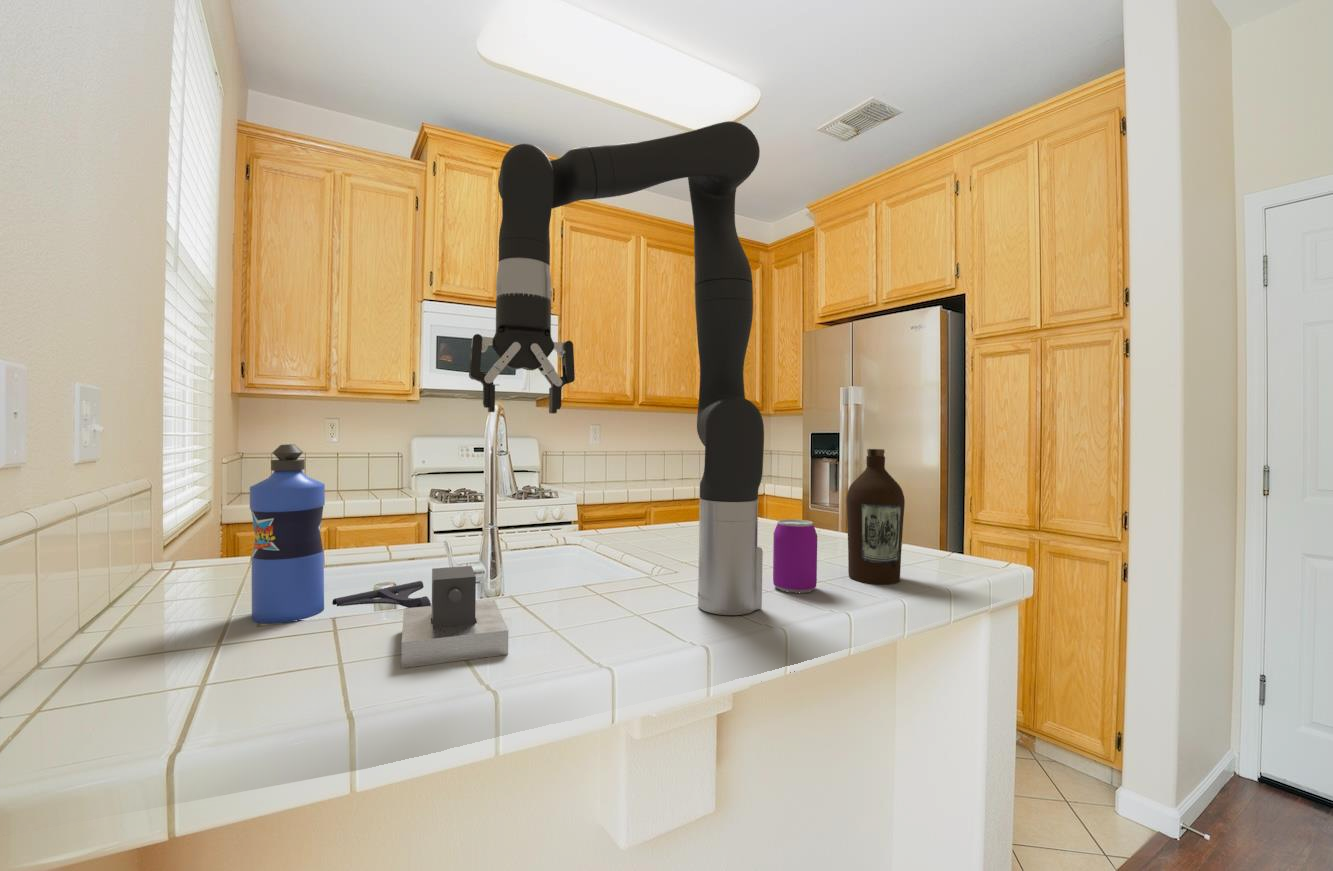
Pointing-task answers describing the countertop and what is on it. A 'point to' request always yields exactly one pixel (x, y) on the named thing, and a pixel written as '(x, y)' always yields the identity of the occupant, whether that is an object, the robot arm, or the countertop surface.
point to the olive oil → (875, 523)
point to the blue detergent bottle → (287, 542)
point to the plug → (453, 596)
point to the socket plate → (452, 637)
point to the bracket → (387, 596)
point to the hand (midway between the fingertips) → (522, 412)
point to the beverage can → (795, 556)
